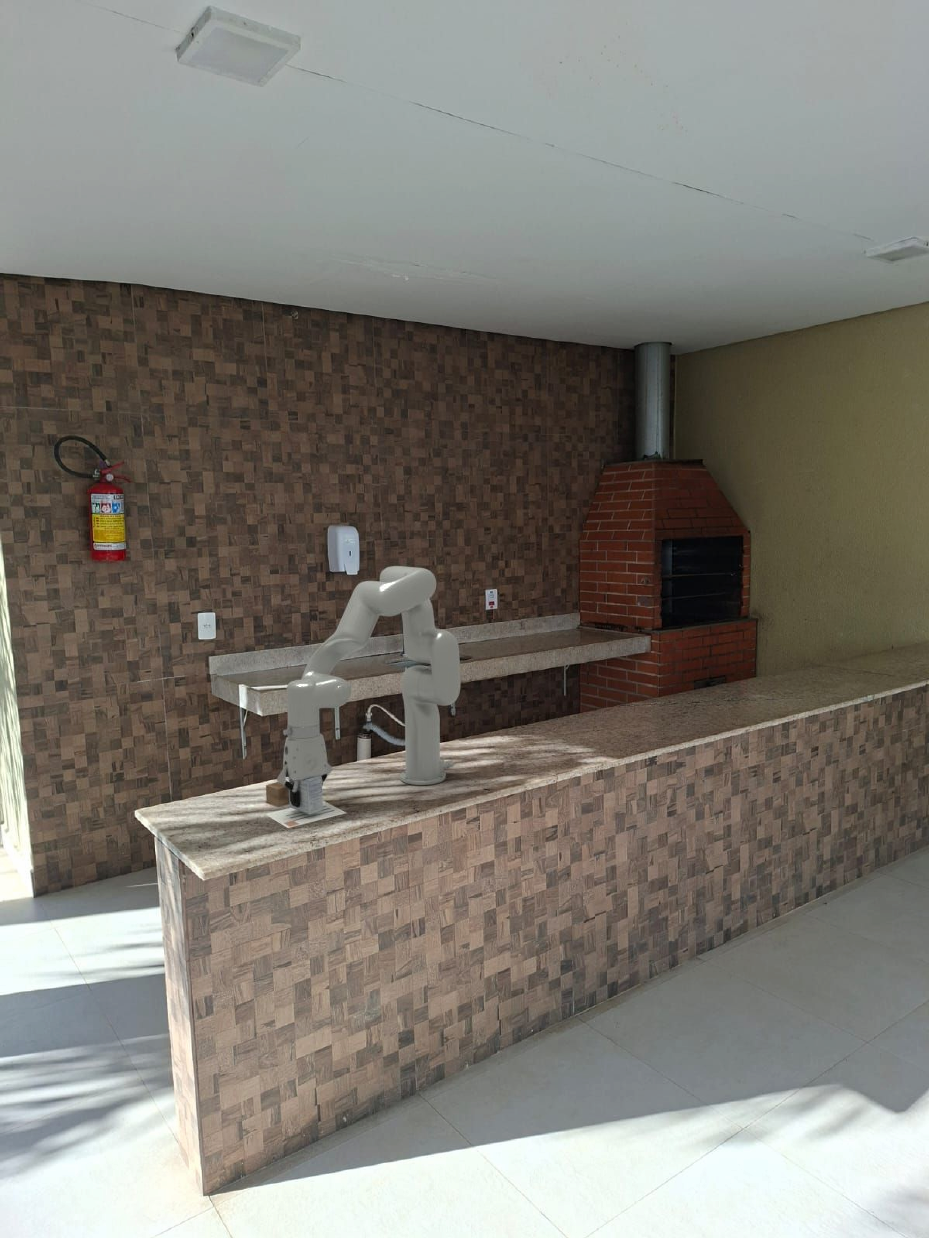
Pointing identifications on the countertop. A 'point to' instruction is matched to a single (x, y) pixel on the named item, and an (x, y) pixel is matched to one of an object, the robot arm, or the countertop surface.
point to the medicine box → (310, 795)
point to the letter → (303, 815)
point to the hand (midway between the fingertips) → (306, 802)
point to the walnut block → (277, 794)
